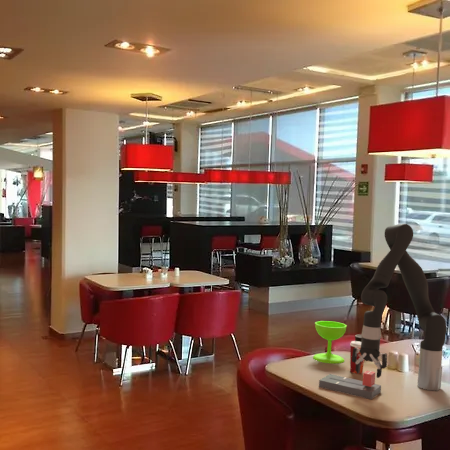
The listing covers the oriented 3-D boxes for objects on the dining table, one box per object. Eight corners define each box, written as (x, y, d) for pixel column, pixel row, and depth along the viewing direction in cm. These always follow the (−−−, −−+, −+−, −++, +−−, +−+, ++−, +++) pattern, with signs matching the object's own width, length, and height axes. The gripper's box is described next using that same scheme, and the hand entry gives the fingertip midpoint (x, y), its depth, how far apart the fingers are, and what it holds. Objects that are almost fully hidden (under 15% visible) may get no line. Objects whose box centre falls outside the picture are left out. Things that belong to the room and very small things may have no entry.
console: (380, 392, 236) (381, 385, 236) (371, 399, 226) (372, 392, 226) (329, 380, 248) (330, 373, 248) (318, 387, 238) (319, 379, 238)
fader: (374, 385, 234) (375, 372, 234) (370, 388, 230) (371, 374, 229) (366, 383, 236) (367, 370, 236) (362, 386, 232) (363, 372, 231)
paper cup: (360, 375, 259) (362, 345, 259) (345, 371, 264) (347, 342, 263) (367, 372, 265) (369, 343, 265) (352, 368, 270) (354, 339, 269)
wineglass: (342, 365, 275) (344, 329, 274) (310, 360, 280) (312, 325, 279) (346, 357, 290) (348, 323, 289) (315, 353, 295) (317, 319, 294)
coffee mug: (358, 351, 303) (359, 333, 303) (373, 355, 298) (374, 336, 298) (348, 355, 294) (349, 336, 294) (363, 359, 289) (364, 340, 289)
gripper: (390, 338, 232) (387, 377, 232) (357, 332, 239) (354, 369, 240) (385, 341, 225) (381, 381, 226) (351, 334, 233) (348, 373, 234)
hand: (367, 375), depth 233 cm, fingers open, 8 cm apart
